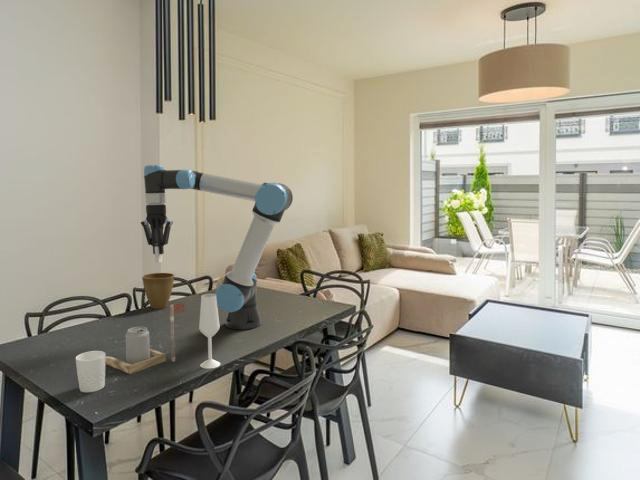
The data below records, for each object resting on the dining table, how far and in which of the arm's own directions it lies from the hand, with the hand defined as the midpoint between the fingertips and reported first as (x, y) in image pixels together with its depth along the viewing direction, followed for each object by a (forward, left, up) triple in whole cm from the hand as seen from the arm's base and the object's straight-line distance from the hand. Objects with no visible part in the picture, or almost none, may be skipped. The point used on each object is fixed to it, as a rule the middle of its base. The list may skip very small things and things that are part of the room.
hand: (158, 262), depth 182 cm
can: (-10, +32, -29) cm, 45 cm away
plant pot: (+20, -33, -29) cm, 48 cm away
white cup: (-7, +52, -29) cm, 60 cm away
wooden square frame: (-8, +30, -29) cm, 43 cm away
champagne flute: (-34, +29, -29) cm, 54 cm away
